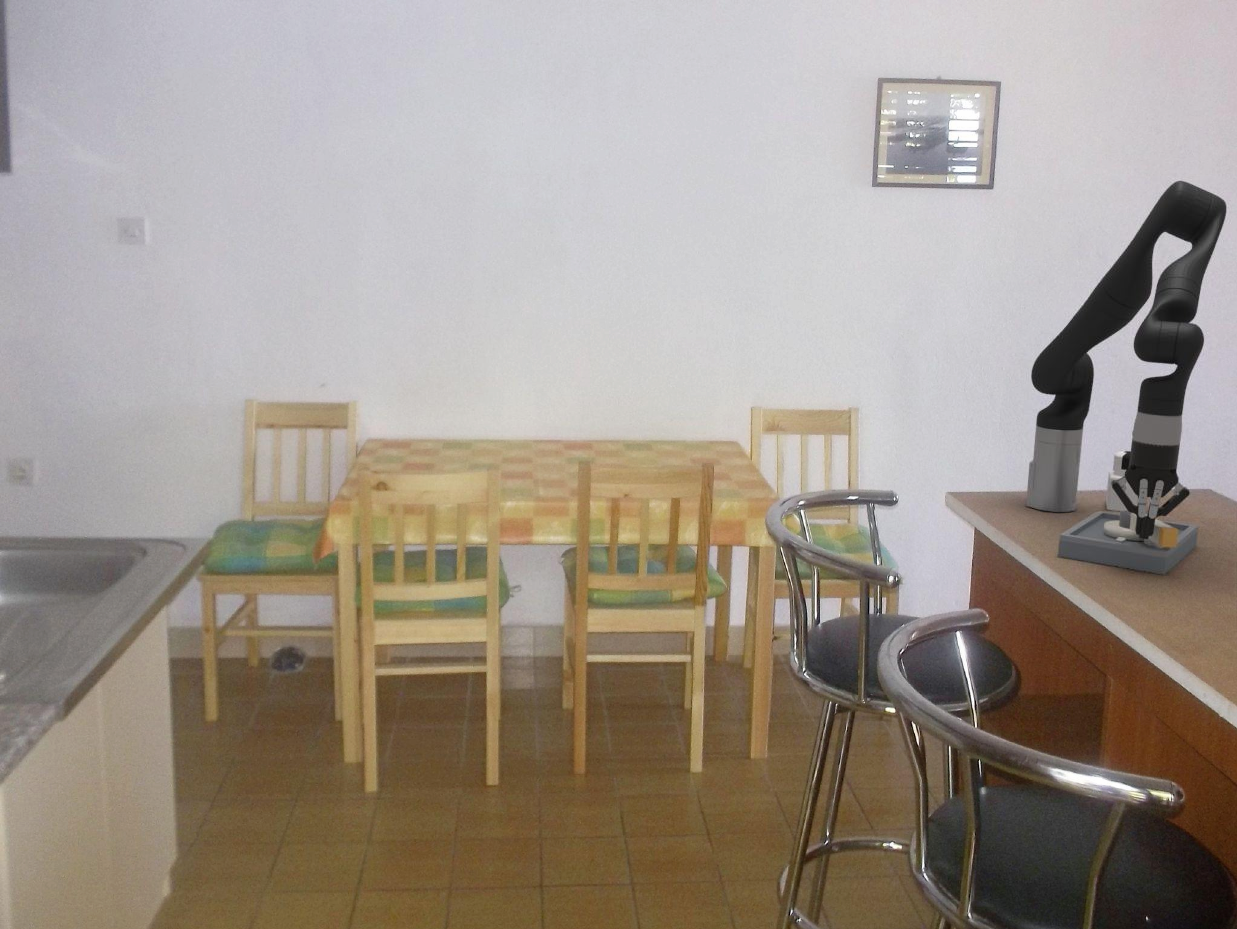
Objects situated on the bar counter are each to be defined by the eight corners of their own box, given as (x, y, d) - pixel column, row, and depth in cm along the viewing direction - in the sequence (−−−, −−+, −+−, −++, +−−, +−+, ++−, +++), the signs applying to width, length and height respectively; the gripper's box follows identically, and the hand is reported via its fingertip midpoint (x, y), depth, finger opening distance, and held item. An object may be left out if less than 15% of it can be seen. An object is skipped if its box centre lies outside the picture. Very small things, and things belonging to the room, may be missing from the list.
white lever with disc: (1094, 528, 228) (1097, 504, 227) (1141, 528, 228) (1144, 504, 228) (1142, 555, 210) (1145, 529, 209) (1193, 555, 210) (1196, 529, 210)
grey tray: (1057, 556, 220) (1059, 534, 219) (1096, 530, 239) (1098, 510, 238) (1164, 574, 210) (1166, 552, 209) (1195, 546, 229) (1198, 525, 228)
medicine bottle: (1141, 506, 261) (1147, 450, 258) (1143, 513, 254) (1150, 456, 252) (1105, 503, 263) (1111, 448, 261) (1107, 510, 256) (1112, 454, 254)
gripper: (1115, 439, 207) (1103, 538, 211) (1201, 446, 203) (1187, 547, 207) (1113, 432, 214) (1101, 528, 218) (1195, 439, 210) (1182, 537, 214)
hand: (1143, 537), depth 212 cm, fingers closed
